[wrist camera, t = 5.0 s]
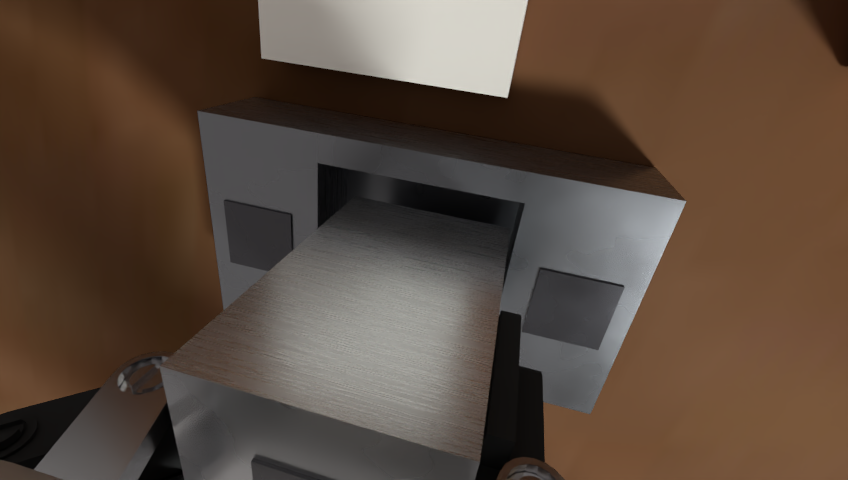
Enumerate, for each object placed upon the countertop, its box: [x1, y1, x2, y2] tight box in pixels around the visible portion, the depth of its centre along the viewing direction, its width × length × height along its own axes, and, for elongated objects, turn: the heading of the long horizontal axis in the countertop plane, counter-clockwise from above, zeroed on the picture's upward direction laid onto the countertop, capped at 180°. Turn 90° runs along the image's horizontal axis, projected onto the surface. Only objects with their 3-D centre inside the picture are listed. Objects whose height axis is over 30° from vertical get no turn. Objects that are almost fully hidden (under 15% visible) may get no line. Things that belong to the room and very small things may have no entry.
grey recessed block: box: [197, 97, 686, 414], centre depth 15 cm, size 14×8×3 cm, turn 83°
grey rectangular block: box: [159, 196, 510, 480], centre depth 11 cm, size 5×5×8 cm
